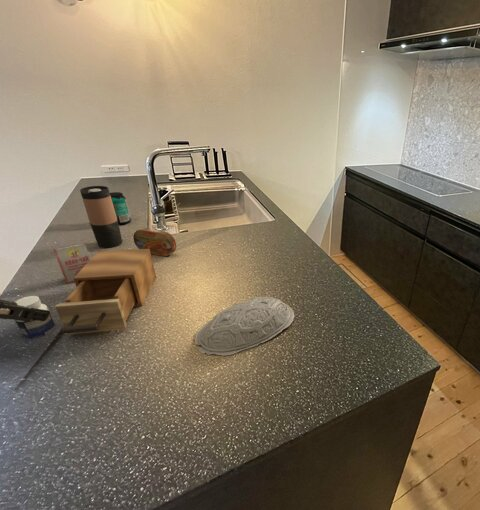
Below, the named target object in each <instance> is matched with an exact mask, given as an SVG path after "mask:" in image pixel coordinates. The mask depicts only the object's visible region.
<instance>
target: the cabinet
mask: <svg viewBox="0 0 480 510" xmlns="http://www.w3.org/2000/svg"><path fill="white" fill-rule="evenodd" d="M90 259H91V260H90V261H89V262H88V263H87V264H86V265H85V266H84V267H83V268H82V269H81V271H80V272H79V273H78V274H77V275H76V276H75V277H74V278H73V279H74V281H75V282H74V284H75V286H76V287H77V286H78V285H79V284H80V283H81V282H82V281H84V280H99V279H115V278H130V277H131V280H132V283H133V287H134V291H135V294H136V298H137V300H136V302H135V304H134V306H133V308H135V307H142V306H143V305H144V303H145V301H146V299H147V297H148V295H149V292H150V291H151V288H152V286H153V284H154V282H155V280H156V278H157V275H156V271H155V270H156V269H155V267H154V261H153V258H152V254H151V253H150V249H138V248H135V249H116V250H115V249H113V250H111V249H110V250H98V251H97V252H96V253H95V254H94V255H93V257H91V258H90ZM76 287H75V288H76Z"/></svg>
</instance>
